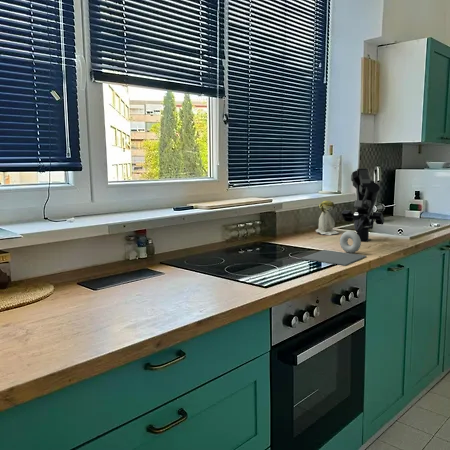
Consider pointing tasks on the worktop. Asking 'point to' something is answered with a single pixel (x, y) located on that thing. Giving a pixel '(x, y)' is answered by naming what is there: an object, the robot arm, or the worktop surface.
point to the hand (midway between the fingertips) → (356, 231)
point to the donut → (344, 241)
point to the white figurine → (326, 218)
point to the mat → (334, 257)
